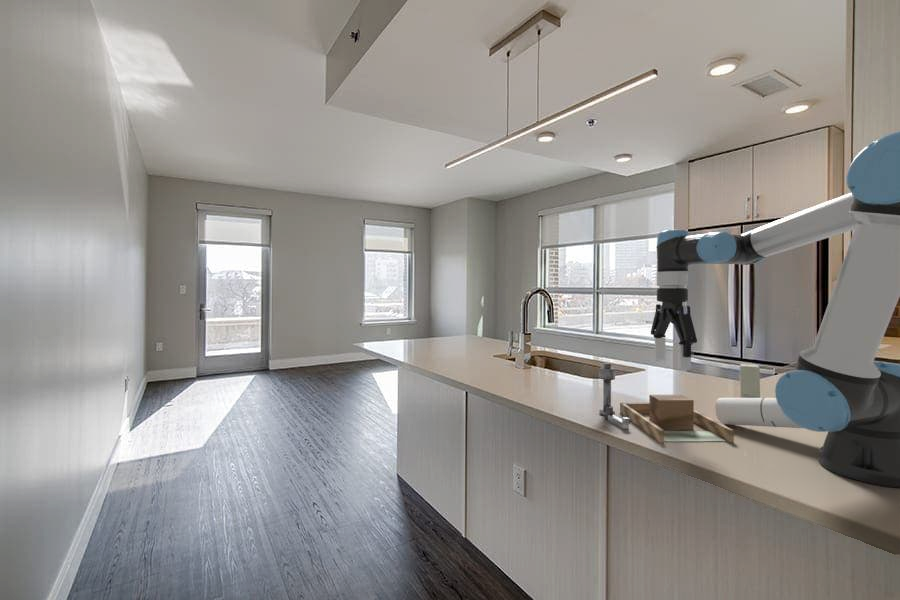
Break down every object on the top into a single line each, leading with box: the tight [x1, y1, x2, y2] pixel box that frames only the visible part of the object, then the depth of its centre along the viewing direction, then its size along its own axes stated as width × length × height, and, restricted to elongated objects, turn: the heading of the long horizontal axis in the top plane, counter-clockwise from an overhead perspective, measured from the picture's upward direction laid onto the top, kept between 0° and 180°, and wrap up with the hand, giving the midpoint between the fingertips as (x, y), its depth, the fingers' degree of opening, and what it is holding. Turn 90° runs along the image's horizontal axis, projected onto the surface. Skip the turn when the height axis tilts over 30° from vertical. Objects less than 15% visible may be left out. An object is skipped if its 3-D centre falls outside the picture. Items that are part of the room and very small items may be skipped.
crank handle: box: [605, 405, 631, 430], centre depth 118 cm, size 10×2×4 cm, turn 9°
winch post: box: [598, 362, 616, 417], centre depth 127 cm, size 4×4×15 cm
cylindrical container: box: [715, 397, 804, 429], centre depth 108 cm, size 7×7×25 cm
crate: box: [648, 393, 695, 431], centre depth 116 cm, size 6×9×8 cm, turn 89°
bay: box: [619, 402, 735, 444], centre depth 116 cm, size 25×18×3 cm
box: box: [739, 363, 761, 398], centre depth 136 cm, size 5×4×13 cm
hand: (671, 364), depth 116 cm, fingers open, 13 cm apart
